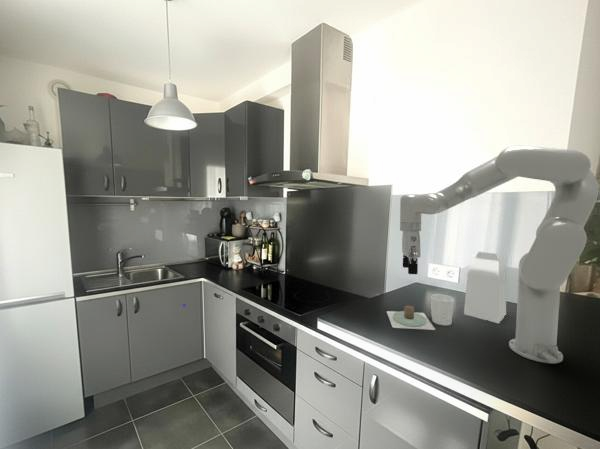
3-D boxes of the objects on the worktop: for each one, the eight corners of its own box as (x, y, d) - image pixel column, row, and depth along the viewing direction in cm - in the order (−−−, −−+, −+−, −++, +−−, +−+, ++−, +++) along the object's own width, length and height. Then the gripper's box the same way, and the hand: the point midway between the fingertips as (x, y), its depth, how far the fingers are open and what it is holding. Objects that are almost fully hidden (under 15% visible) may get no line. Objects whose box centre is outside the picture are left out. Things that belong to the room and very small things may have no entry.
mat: (435, 331, 98) (435, 329, 98) (392, 328, 101) (392, 327, 101) (423, 313, 113) (423, 312, 113) (386, 312, 115) (386, 311, 115)
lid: (429, 327, 100) (430, 314, 99) (396, 325, 102) (396, 313, 101) (420, 314, 112) (421, 302, 111) (390, 312, 114) (390, 301, 113)
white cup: (447, 318, 108) (448, 294, 107) (457, 327, 101) (457, 301, 100) (427, 318, 109) (427, 294, 108) (434, 327, 101) (435, 301, 100)
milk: (463, 314, 112) (465, 252, 110) (472, 306, 120) (474, 248, 117) (498, 323, 103) (502, 256, 101) (506, 314, 111) (509, 252, 108)
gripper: (427, 229, 95) (426, 277, 96) (415, 224, 112) (414, 265, 113) (405, 229, 96) (404, 276, 97) (396, 224, 113) (395, 265, 114)
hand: (409, 270), depth 105 cm, fingers open, 9 cm apart
